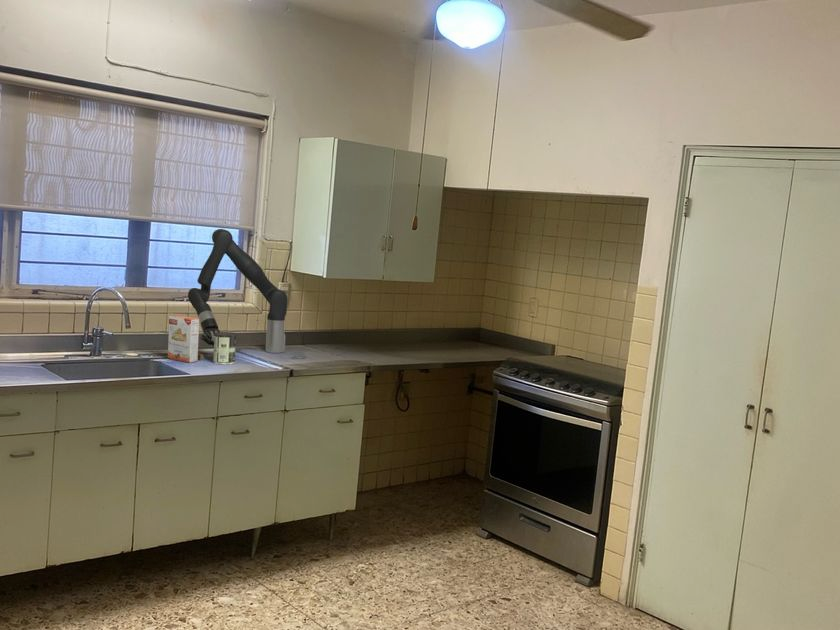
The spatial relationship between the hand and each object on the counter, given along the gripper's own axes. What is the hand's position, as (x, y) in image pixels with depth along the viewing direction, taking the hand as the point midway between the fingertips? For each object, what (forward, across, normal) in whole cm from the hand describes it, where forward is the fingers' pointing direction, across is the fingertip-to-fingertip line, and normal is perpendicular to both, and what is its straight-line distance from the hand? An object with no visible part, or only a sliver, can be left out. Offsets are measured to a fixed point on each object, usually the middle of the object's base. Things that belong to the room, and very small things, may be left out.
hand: (218, 350), depth 383 cm
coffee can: (+8, 0, -1) cm, 8 cm away
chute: (-2, 0, +9) cm, 9 cm away
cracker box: (0, -16, +7) cm, 17 cm away
